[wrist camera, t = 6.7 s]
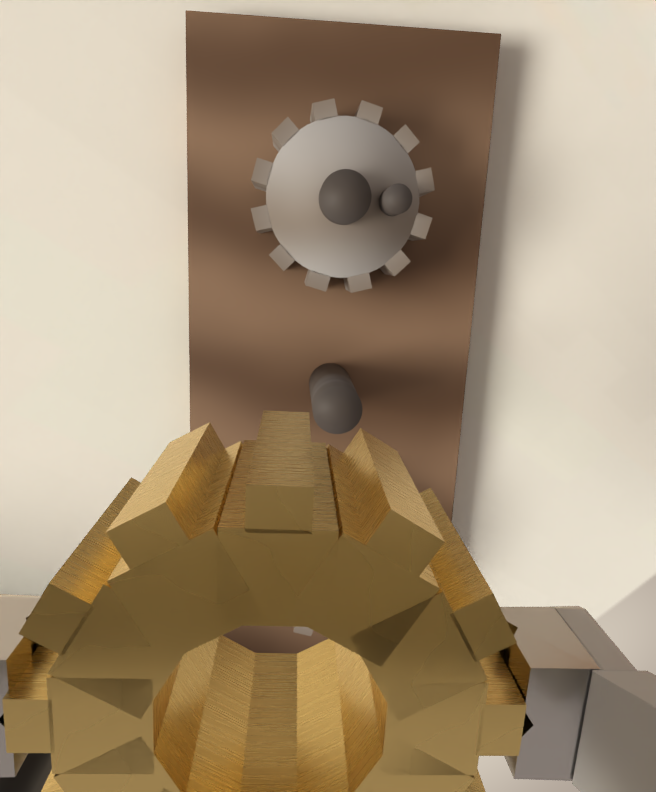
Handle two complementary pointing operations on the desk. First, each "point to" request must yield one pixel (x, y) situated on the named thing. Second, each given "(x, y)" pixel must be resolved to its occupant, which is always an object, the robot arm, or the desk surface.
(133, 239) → the desk surface
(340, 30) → the gear board
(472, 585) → the brass gear
